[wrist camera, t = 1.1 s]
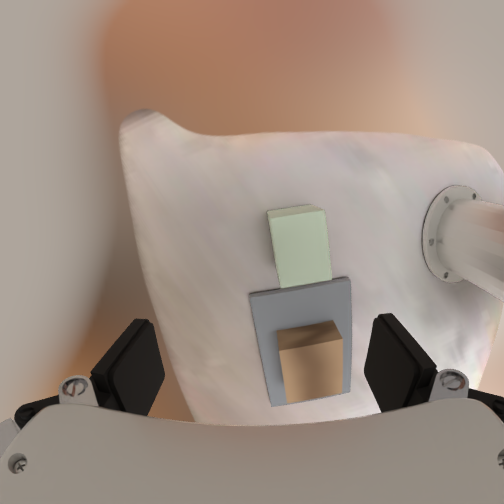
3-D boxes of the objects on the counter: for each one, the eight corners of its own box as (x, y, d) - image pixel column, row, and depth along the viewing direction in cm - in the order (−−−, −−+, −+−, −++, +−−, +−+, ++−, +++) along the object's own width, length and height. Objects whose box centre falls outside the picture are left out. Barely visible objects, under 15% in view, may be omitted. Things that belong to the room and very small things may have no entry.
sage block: (310, 204, 27) (324, 210, 21) (317, 260, 29) (331, 279, 23) (266, 211, 27) (269, 218, 22) (276, 267, 29) (280, 288, 23)
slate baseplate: (347, 277, 29) (350, 280, 28) (348, 387, 33) (349, 392, 32) (249, 294, 29) (249, 297, 28) (271, 401, 34) (271, 406, 33)
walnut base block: (333, 320, 29) (342, 338, 25) (334, 372, 31) (342, 392, 27) (276, 330, 29) (279, 350, 26) (284, 381, 31) (287, 403, 28)
